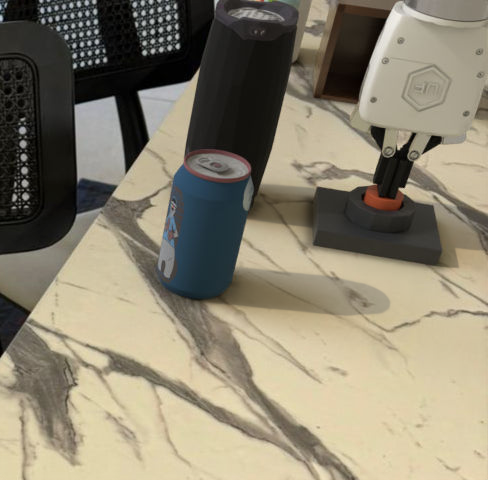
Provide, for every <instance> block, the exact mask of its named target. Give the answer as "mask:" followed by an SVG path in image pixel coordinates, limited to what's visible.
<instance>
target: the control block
mask: <svg viewBox="0 0 488 480" xmlns="http://www.w3.org/2000/svg"><path fill="white" fill-rule="evenodd" d="M369 186H370V185H360V186H356V187H355V188H353V189H352V190H350V191H349V190H342V189H337V188H330V187H329V188H328V187H323V186H316V188H315V192H314V195H313V200H312V246H314V247H319V248H325V249H331V250H337V251H343V252H350V253H353V254H354V253H355V254H360V255H367V256H373V257H379V258H384V259H391V260H396V261H402V262H408V263H415V264H421V265H426V266H431V267H437V266H438V263H439V260H440V258H441V256H442V253H443V248H442V242H441V237H440V232H439V227H438V222H437V217H436V211H435V206H434V204H428V203H424V202H423V203H422V202H416V201H414V200H413V199H412V198H411V197H410V196H408V195H407V194H405V193H403V195H404V198H403V201H402V203H401V206H400V209H399V210H396V211H386V210H380V209H377V208H374V207H372V206H369V205H367V204H366V203H365V202H364V201H363V200H364V197H365V193H366V190H367V188H368V187H369Z"/></svg>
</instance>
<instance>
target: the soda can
mask: <svg viewBox="0 0 488 480" xmlns="http://www.w3.org/2000/svg"><path fill="white" fill-rule="evenodd" d="M183 162H184V163H182V164H181V166H180V167H179V168H178V169H177V171H176V172H175V173H174V175H173V179H172V184H171V189H170V195H169V200H168V206H167V210H166V216H165V222H164V227H163V233H162V238H161V244H160V248H159V254H158V259H157V263H156V264H157V265H156V274H157V276H158V279H159V281H160V283H161V285H162V286H163V287H164V288H165V289H166V290H168V291H169V292H170V293H172V294H174V295H177V296H180V297H183V298H186V299H191V300H209V299H214V298H217V297H219V296H220V295H222V294H223V293H225V292H226V290H227V289H228V288H229V287H230V286H231V284H232V281H233V277H234V274H235V269H236V265H237V262H238V261H237V260H238V256H239V253H240V249H241V244H242V241H243V237H244V233H245V228H246V224H247V220H248V217H249V216H248V215H249V211H250V210H249V207H250V203H251V199H252V195H253V191H254V187H253V182H252V179H251V175H250V173H251V166H250V164H249V163H248V161H246V160H245V159H244V158H242V157H241V156H238V155H236V154H233V153H230V152H226V151H221V150H213V149H203V150H196V151H193V152H190V153H189V154H187V155H186V156H185V158H184V157H183Z"/></svg>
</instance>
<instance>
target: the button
mask: <svg viewBox="0 0 488 480" xmlns="http://www.w3.org/2000/svg"><path fill="white" fill-rule="evenodd" d="M368 186H369V187H368V188H367V190H366V193H365V197H364V200H363V201H364V202H365V203H366V204H367V205H369V206H372V207H374V208H377V209H380V210H386V211H396V210H399V209H400V206H401V203H402V201H403V198H404V195H403V194H404V193H403V192H402V191H401V190H400V189H398V192H397V195H396V198H395V199H391V198H389V197H388V195H387V196H384V197H378V189H377V184H371V185H368Z"/></svg>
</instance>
